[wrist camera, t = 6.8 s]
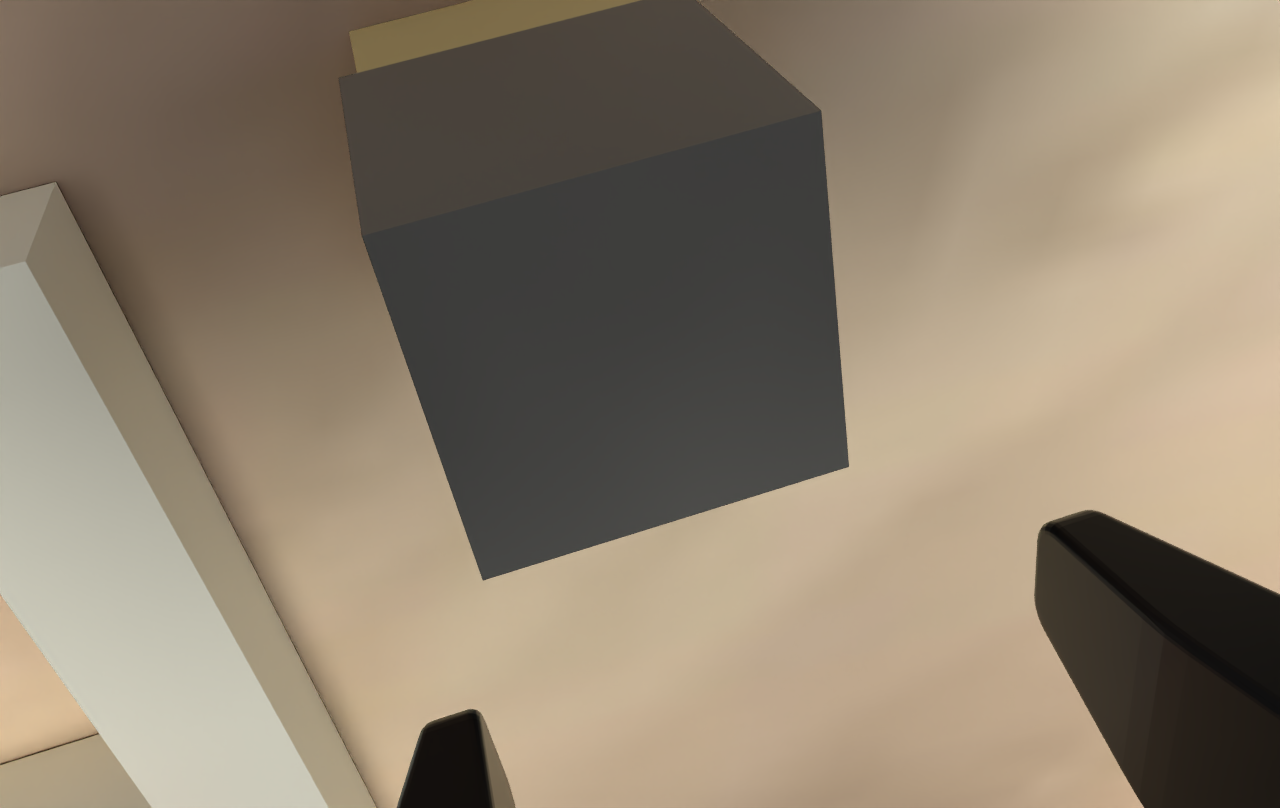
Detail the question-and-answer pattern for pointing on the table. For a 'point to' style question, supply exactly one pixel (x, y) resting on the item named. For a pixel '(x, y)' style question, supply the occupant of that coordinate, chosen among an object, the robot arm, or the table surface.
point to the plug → (598, 263)
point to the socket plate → (134, 565)
